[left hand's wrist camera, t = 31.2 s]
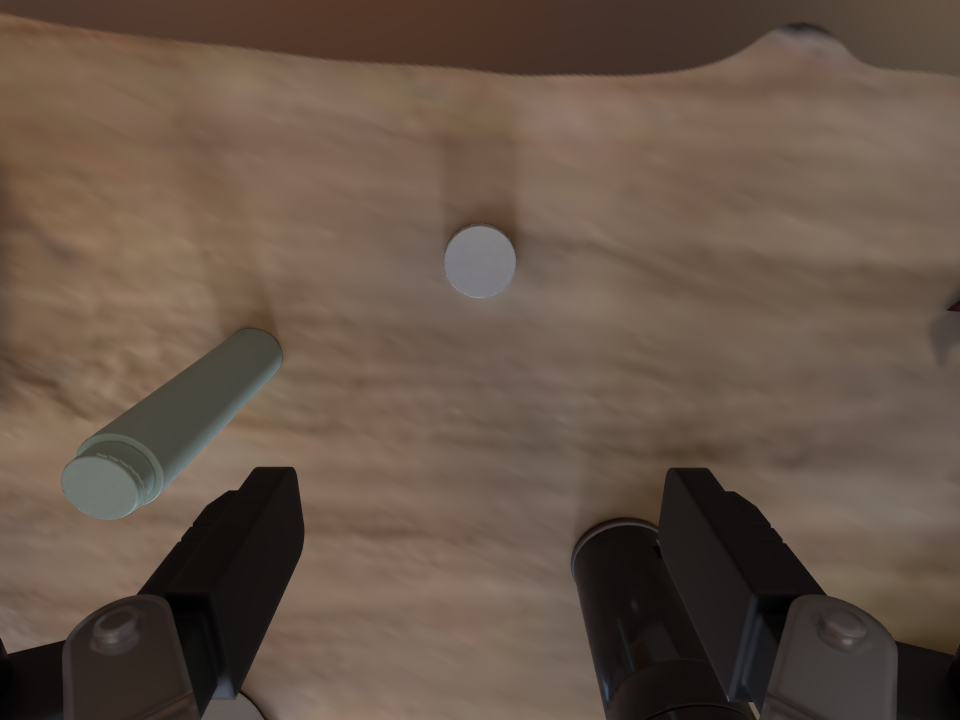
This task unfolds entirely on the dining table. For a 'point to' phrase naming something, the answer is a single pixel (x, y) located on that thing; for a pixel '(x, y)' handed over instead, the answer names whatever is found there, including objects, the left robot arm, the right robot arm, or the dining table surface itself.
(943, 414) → the dining table surface
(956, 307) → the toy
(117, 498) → the bottle
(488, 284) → the lid
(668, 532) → the left robot arm
